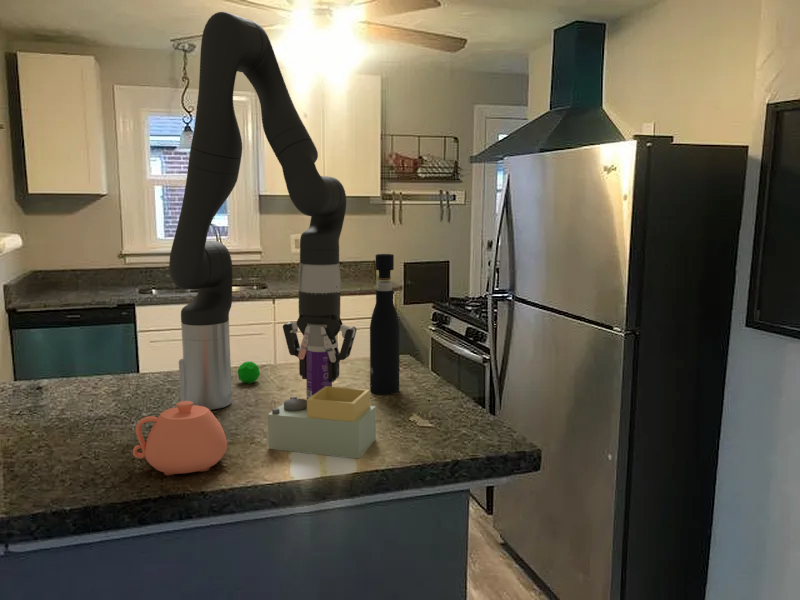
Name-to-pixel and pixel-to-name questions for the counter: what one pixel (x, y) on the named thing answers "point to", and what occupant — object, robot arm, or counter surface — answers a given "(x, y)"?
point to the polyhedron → (248, 372)
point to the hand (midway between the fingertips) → (319, 379)
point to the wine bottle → (384, 333)
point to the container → (316, 361)
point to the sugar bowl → (182, 440)
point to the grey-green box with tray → (325, 423)
